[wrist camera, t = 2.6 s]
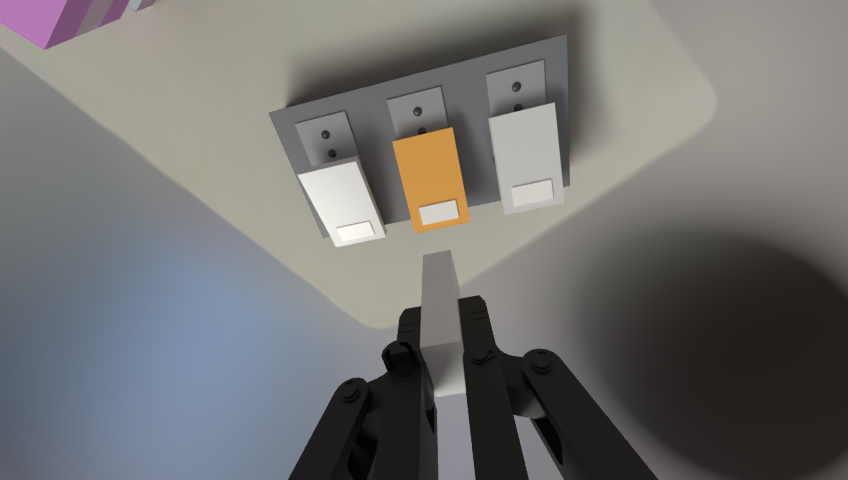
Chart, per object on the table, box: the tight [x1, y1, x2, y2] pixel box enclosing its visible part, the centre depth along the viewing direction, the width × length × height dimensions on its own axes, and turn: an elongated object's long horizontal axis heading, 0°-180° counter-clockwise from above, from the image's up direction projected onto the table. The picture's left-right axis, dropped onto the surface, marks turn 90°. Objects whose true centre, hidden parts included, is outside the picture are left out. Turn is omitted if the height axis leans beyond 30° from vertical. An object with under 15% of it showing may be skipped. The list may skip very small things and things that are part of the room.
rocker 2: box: [392, 127, 470, 233], centre depth 28 cm, size 8×5×1 cm, turn 14°
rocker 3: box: [488, 103, 565, 215], centre depth 27 cm, size 8×5×1 cm, turn 14°
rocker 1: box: [298, 156, 387, 247], centre depth 29 cm, size 8×5×1 cm, turn 13°
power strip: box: [269, 34, 570, 238], centre depth 29 cm, size 12×24×4 cm, turn 103°
